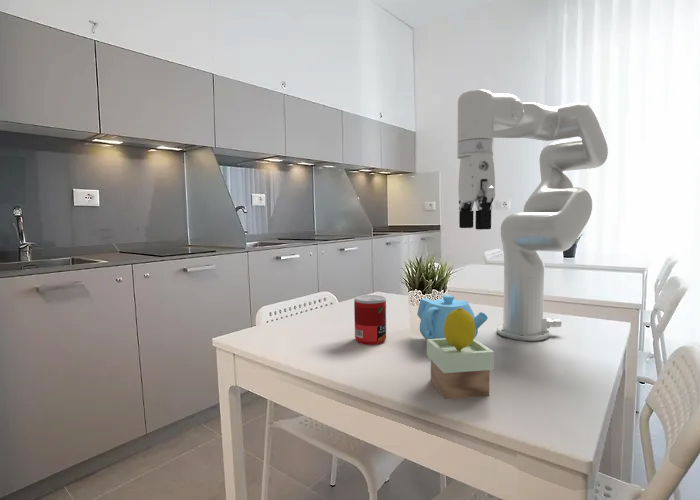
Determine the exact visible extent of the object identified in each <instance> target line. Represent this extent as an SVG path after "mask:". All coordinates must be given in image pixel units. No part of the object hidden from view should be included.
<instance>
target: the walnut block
mask: <svg viewBox="0 0 700 500" xmlns="http://www.w3.org/2000/svg"><path fill="white" fill-rule="evenodd" d="M490 371H491V370H483V371H469V372H455V373H443V372H442V371H441V370H440V369H439V368H438V367H437V366H436V365H435V364H434V363H433V362H432V360H431V359H430V382H431V383H432V384H433V386H435V388H436V389H437V390H438V392H439V393H440V394H441V396H442V397H443V398H444V400H447V399H459V398H460V399H462V398H463V399H464V398H475V397H477V398H478V397H488V396H490V378H491V377H490Z"/></svg>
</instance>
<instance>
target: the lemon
mask: <svg viewBox="0 0 700 500" xmlns="http://www.w3.org/2000/svg"><path fill="white" fill-rule="evenodd" d="M444 335H445V338H446V340H447V342H448V343H449V344H450V345H451V346H453V347H455V348H456V349H457V350H458V351H460V350H462V349H463V348H465V347H467V346H469V345H470V344H471V343H472V342H473V340H474V339H475V338H476V337H475V323H474V319H473V317H472V316H471V314H469V313H468V312H467V311H465V310H463V309H462V308H458V309H457V310H454V311H452V312H450V313H449V314H448V316H447V317H446V320H445V324H444ZM474 337H475V338H474Z"/></svg>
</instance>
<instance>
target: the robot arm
mask: <svg viewBox="0 0 700 500" xmlns="http://www.w3.org/2000/svg"><path fill="white" fill-rule="evenodd" d="M577 137H578V138H577ZM495 138H496V139H499V138H500V139H504V138H505V139H531V140H536V141H537V140H538V141H545V142H548V141H554V142H551V143H549V144H546V146H544V147H543V149H542V150H541V152H540V154H539V160H538V161H539V171H540V173H539V174H540V182H539V184H538V186H537V187H536V188H535V189H534V191H533V192H532V193H531V194H530V195H529V196H528V199H527V200H526V202H525V203H524V207H523V212H516V213H512V214H509V215H508V216H506V217H505V218H504V219H503V220H502V223H501V225H500V238H501V243H502V244H501V245H502V249H503V261H504V262H503V263H504V264H503V266H504V267H503V269H504V270H503V317H502V318H503V319H502V321H503V324H500V325H498V326H497V327H496V333H497V334H498V335H499V336H502V337H504V338H509V339H512V340H517V341H518V340H519V341H526V342H528V341H529V342H531V341H532V342H535V341H542V340H546V339H548V338H549V337H550V331H549V330H548V329H550V328H561V327H562V321H561V319H551V318H549V317H547V318H546V317H544V294H545V293H544V292H545V291H544V289H545V288H544V287H545V267H544V266H545V265H544V264H543V261H542V259H541V258H540V256H539V254H538V252H537V251H539V252H552V253H553V252H565V251H568V250H569V249H570V248H572V246H574V244H575V243H576V241H577V240H578V238H579V236H580V235H581V233H582V232H583V231H584V228H585V227H586V225H587V224H588V222H589V220H590V218H591V215H592V213H593V212H592V211H593V198H592V196H591V194H590V193H589V191H588V190H586V189H584V188H582V187H577V186H576V187H575V186H573V185H574V184H573V183H572V181H571V179H570V178H569V177H568V176H567V175H566V174H565V173H563V172H566V171H578V170H579V171H580V170H587V169H588V170H591V169H595V168H599V167H601V166H603V165H604V164H605V163H606V161H607V159H608V156H609V155H608V154H609V149H608V144H607V140H606V138H605V135H604V133H603V130H602V127H601V125H600V122H599V119H598V118H597V117H596V114H595V112H594V110H593V109H592V108H591V107H590V105H588V104H587V103H586V102H583V101H582V102H581V101H579V102H573V103H569V104H568V103H567V104H563V105H559V106H548V105H544V104H540V103H538V102H537V103H536V102H522V100H520V98H519V97H518V96H516V95H514V94H510V93H492V92H491V91H490V90H486V89H473V90H468V91H465V92H463V93H461V94H460V95H459V97H458V99H457V151H456V152H457V156H456V157H457V159H458V160H460V162H459V170H458V199H459V200H458V204H459V207H458V211H459V216H458V217H459V218H458V219H459V221H458V222H459V223H458V224H459V226H458V227H459V228H460V229H473V228H474V227H475V230H477V231H478V230H492V210H493V201H494V200H495V199H496V181H495V180H496V178H495V177H496V176H495V174H496V173H495V163H494V139H495ZM570 138H571V139H570ZM557 140H559V141H557ZM474 205H475V206H476V209H477V210H475V211H474V210H473V207H474ZM474 212H475V226H474Z"/></svg>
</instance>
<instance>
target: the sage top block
mask: <svg viewBox="0 0 700 500" xmlns="http://www.w3.org/2000/svg"><path fill="white" fill-rule="evenodd" d="M426 356H427V357H428V359H429V360H430V361H431V360H432V362H433V363H434V364H435V365H436V366H437V367H438V368H439V369H440V370H441V371H442V372H443V373H455V372H469V371H483V370H490V371H492V370H495V369H494V368H495V367H494V366H495V358H494V357H495V351H494V350H492V349H491V348H490V347H488V346H486V345H485V344H484V343H482V342H480V341H479V340H477V338H474V340H473V342H472V343H471V344H470V345H469V346H467V347H465V348H463V349H462V350H460V351H458V350H457V349H456V348H455V347H453V346H451V345H450V344H449V343H448V342H447V340H446V338H439V339H426Z"/></svg>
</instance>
